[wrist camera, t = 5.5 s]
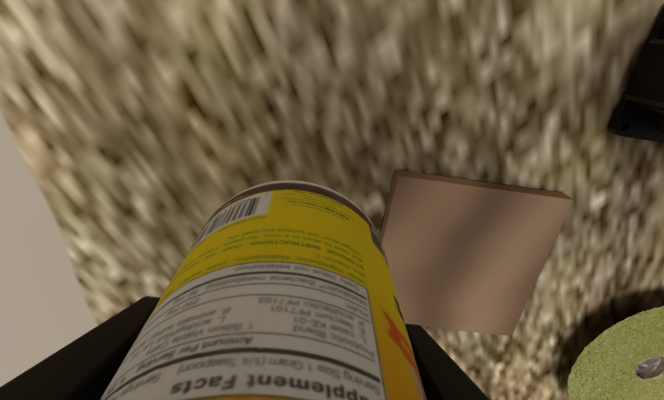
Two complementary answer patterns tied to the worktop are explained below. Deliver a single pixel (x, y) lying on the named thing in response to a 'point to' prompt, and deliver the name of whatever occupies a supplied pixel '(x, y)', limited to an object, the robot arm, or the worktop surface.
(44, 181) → the worktop surface
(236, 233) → the supplement bottle
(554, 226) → the walnut board
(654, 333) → the yellow-green flat disc
